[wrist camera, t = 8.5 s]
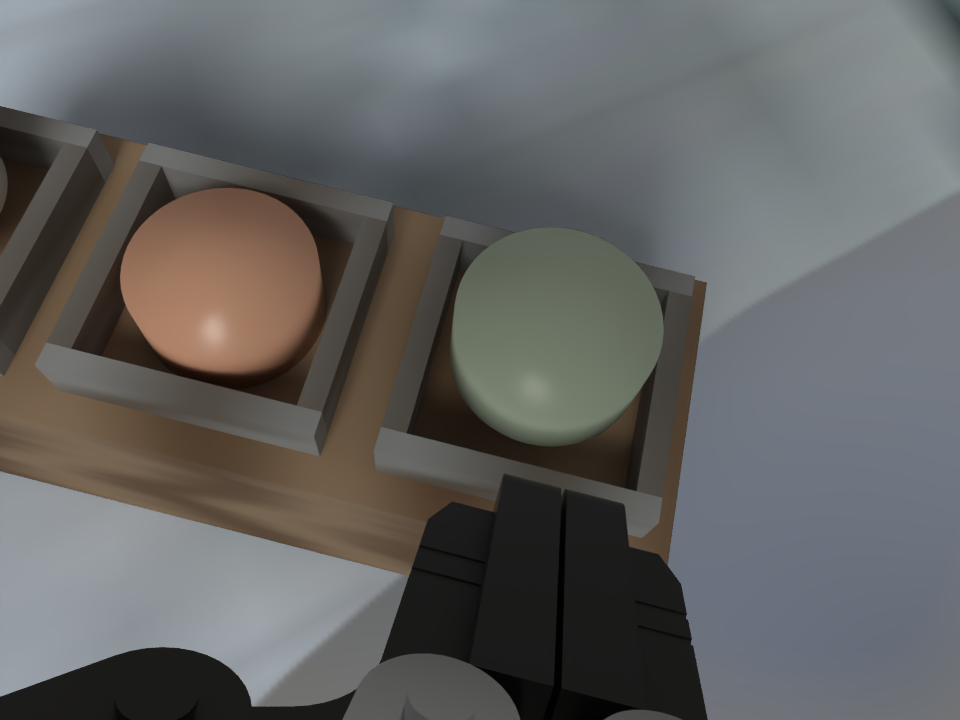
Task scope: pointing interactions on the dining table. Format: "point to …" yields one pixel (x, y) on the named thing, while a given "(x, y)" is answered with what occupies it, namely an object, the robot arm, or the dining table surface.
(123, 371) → the wooden egg crate
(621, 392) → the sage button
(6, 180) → the cream egg
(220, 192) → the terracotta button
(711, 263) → the dining table surface
